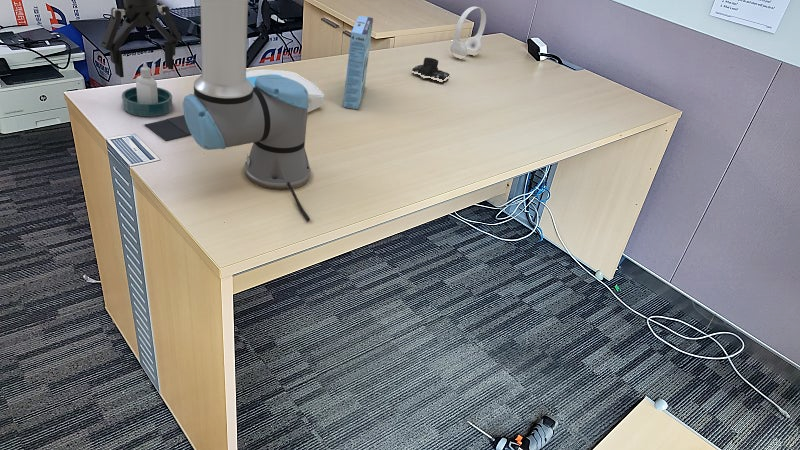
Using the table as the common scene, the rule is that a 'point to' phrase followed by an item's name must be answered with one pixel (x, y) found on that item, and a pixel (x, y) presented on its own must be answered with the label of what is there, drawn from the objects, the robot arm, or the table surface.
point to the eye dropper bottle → (146, 87)
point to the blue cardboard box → (357, 61)
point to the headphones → (472, 42)
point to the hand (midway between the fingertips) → (145, 71)
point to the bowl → (147, 109)
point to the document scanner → (313, 91)
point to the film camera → (430, 70)
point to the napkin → (170, 128)
